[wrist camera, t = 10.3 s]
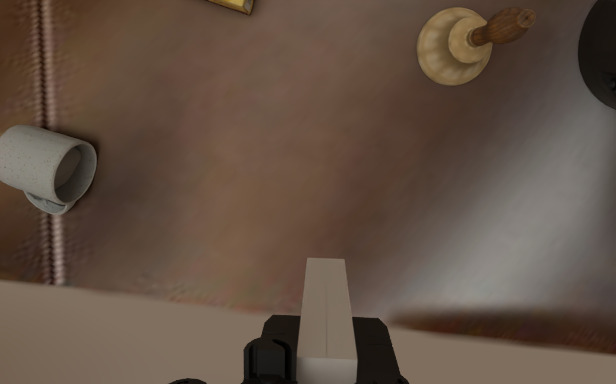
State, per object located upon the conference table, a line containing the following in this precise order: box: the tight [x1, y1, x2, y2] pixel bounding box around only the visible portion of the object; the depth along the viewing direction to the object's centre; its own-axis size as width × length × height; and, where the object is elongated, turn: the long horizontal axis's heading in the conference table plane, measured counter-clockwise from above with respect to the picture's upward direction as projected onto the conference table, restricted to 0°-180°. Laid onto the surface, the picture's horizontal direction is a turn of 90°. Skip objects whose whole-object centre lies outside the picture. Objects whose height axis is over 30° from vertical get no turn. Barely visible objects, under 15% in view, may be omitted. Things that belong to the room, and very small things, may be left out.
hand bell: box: [417, 7, 536, 86], centre depth 37 cm, size 8×8×16 cm
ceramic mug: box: [0, 125, 97, 215], centre depth 46 cm, size 11×8×8 cm
